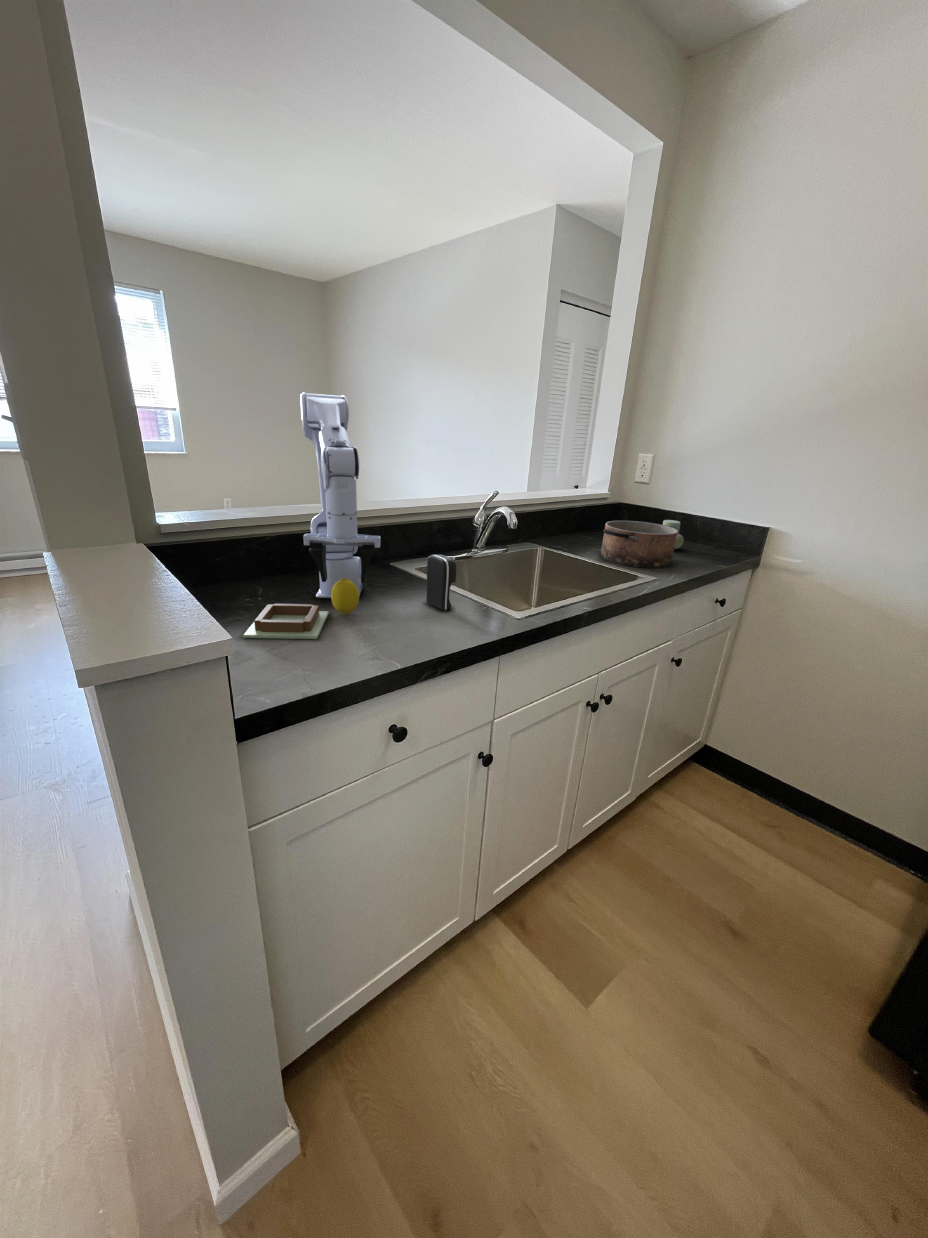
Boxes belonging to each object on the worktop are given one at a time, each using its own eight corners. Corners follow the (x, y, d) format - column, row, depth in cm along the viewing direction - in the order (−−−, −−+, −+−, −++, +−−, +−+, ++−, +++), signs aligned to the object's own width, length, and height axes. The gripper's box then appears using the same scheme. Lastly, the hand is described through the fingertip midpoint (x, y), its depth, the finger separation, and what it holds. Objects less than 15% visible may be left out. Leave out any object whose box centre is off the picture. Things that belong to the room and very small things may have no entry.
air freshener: (663, 544, 190) (669, 518, 186) (684, 549, 184) (690, 522, 181) (648, 547, 183) (653, 520, 180) (669, 552, 178) (675, 524, 174)
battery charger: (456, 609, 110) (459, 558, 105) (442, 612, 107) (445, 560, 103) (438, 600, 115) (440, 551, 111) (425, 602, 112) (426, 553, 108)
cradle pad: (328, 613, 103) (328, 602, 102) (317, 639, 91) (316, 626, 90) (264, 612, 101) (262, 600, 100) (243, 638, 89) (241, 624, 88)
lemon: (334, 610, 105) (332, 573, 102) (360, 610, 105) (360, 574, 102) (329, 619, 100) (328, 581, 97) (357, 620, 100) (356, 582, 97)
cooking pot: (635, 548, 181) (641, 518, 177) (691, 562, 164) (698, 530, 160) (578, 555, 164) (583, 523, 161) (634, 572, 148) (640, 537, 144)
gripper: (298, 514, 91) (302, 585, 95) (378, 518, 92) (378, 587, 97) (306, 509, 97) (310, 575, 102) (381, 512, 99) (381, 577, 103)
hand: (344, 581), depth 100 cm, fingers open, 7 cm apart
